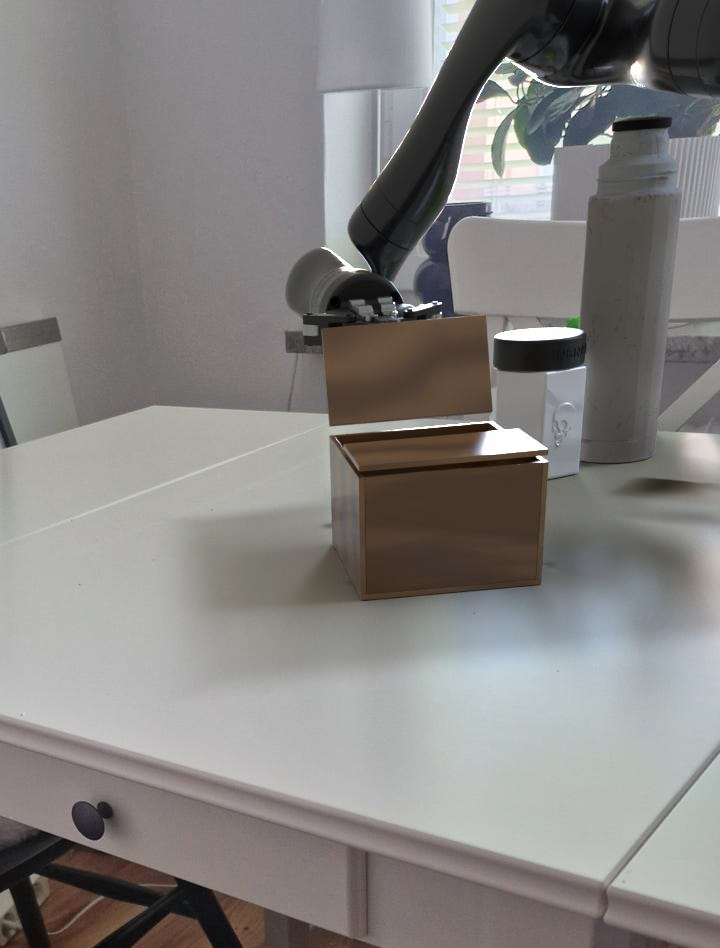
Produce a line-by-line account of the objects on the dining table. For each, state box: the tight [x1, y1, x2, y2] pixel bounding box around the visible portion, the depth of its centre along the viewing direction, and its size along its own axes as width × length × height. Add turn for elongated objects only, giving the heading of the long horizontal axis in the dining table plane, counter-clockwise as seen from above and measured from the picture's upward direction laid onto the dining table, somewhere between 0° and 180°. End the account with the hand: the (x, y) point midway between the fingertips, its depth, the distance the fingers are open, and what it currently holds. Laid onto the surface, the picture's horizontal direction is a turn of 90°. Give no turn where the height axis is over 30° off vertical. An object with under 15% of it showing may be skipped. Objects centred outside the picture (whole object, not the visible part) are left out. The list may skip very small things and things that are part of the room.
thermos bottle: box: [579, 115, 683, 464], centre depth 107 cm, size 8×8×28 cm
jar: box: [489, 327, 587, 481], centre depth 107 cm, size 9×8×12 cm
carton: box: [328, 420, 549, 601], centre depth 86 cm, size 15×13×9 cm
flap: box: [321, 314, 493, 428], centre depth 89 cm, size 7×13×1 cm
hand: (390, 335), depth 95 cm, fingers closed
